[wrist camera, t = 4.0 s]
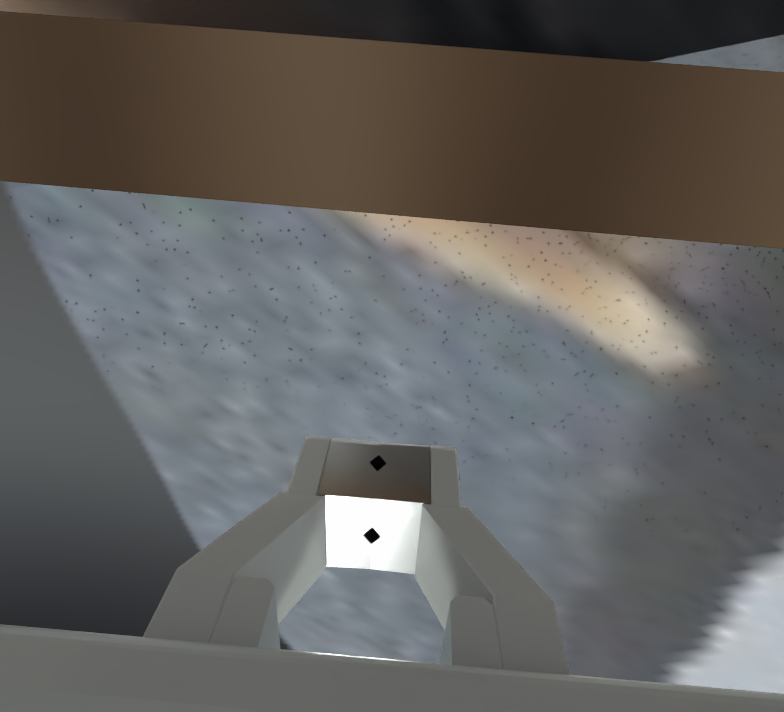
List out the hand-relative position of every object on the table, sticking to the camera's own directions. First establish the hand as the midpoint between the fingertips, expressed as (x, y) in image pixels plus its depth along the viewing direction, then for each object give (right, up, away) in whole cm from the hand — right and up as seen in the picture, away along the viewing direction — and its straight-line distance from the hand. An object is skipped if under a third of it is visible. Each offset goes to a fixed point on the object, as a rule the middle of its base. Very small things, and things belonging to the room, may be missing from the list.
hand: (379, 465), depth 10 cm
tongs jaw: (+5, +7, -1) cm, 8 cm away
